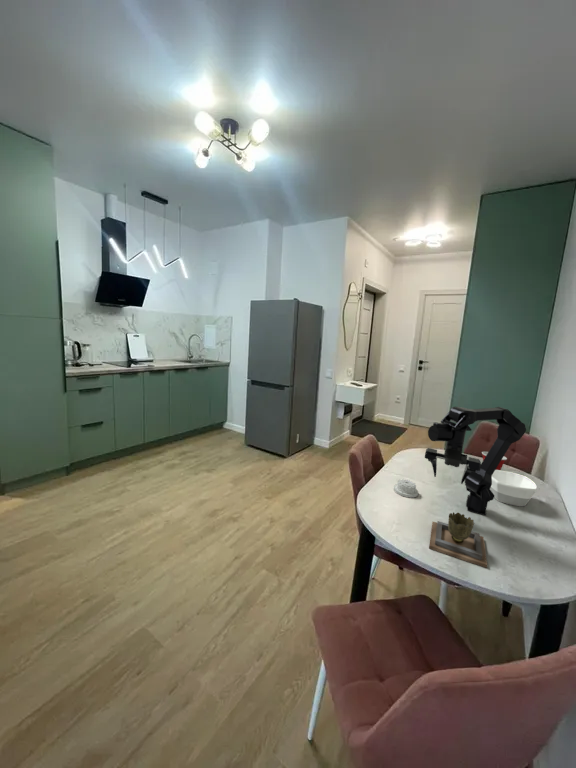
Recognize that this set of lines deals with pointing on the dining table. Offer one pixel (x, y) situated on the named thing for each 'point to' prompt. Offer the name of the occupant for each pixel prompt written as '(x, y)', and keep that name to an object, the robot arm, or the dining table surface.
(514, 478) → the bowl
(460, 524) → the cup
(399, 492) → the mechanical component
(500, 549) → the dining table surface
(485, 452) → the plastic cup
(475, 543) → the holder board
